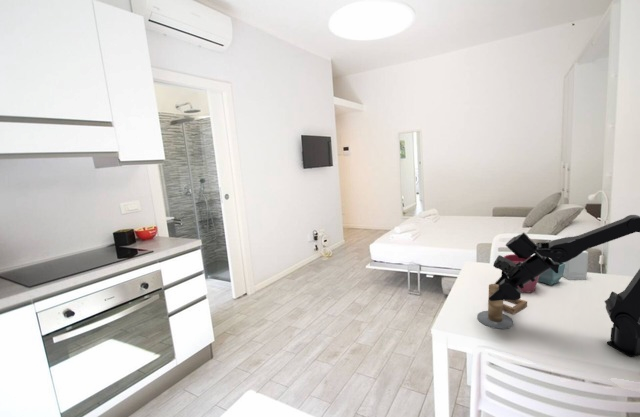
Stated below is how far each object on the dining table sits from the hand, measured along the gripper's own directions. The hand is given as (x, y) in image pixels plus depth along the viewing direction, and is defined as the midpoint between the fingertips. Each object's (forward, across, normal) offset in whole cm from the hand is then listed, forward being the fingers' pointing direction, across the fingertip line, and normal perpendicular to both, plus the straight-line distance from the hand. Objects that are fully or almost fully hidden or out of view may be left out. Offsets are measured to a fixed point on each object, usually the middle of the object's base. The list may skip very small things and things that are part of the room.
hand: (491, 294), depth 105 cm
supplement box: (-12, -54, +26) cm, 61 cm away
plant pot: (+1, -33, +13) cm, 35 cm away
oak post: (+5, 0, +7) cm, 9 cm away
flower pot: (-6, -44, +20) cm, 48 cm away
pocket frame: (+4, -13, +10) cm, 17 cm away
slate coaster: (+6, 0, +8) cm, 10 cm away
